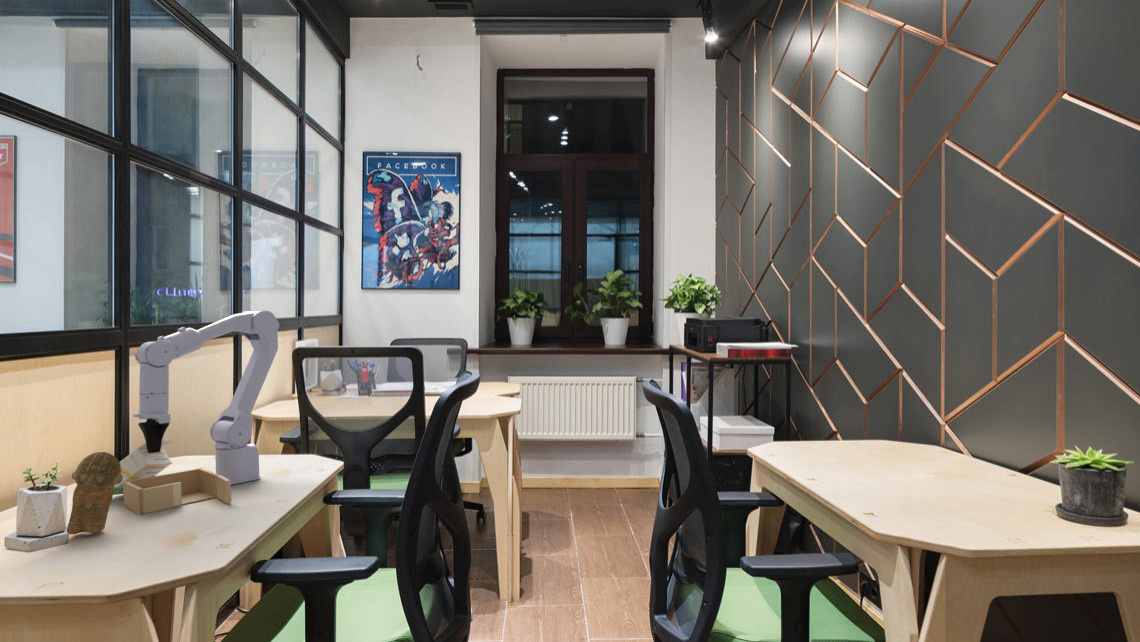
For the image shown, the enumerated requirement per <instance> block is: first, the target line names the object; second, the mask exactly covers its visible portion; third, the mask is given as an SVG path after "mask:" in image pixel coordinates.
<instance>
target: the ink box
mask: <svg viewBox="0 0 1140 642" xmlns="http://www.w3.org/2000/svg"><path fill="white" fill-rule="evenodd" d="M172 442H173V440H172V439H162V445H161V450H160V452H157V453H148V451H147V447H146V442H145V443H143V444H142V445H140V446H139V447H138V448H136V449H135V450H133V451H132V452H131V453H130V454H128V455H127V456H126V457H124V458H123V459H122V460H120V461H119V464H120V467H121V475H122V476H123V479H122V481H121V482H120V483H119V484H115V485H113V496H114V495H115V496H116V495H123V482H126V481H131V480H137V479H142V478H148V477H153V476H158V474H160V473H161V472H162V471H164V470H165V469H166V468H168V467H169V466H171V465H172V464H173V462H172V461H171V459H170V457H169V455H168V454H167V452H166V451H165V449H164V447H166V446H167V445H169V444H170V443H172Z"/></svg>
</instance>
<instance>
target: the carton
mask: <svg viewBox="0 0 1140 642" xmlns="http://www.w3.org/2000/svg"><path fill="white" fill-rule="evenodd" d="M217 475H219V474H216V472H213V471H211V470H207V469H204V468H202V467H199V468H193V469H187V470H183V471H175V472H171V473H165V474H161V475H156V476H153V477H148V478H142V479H137V480H131V481H126V482H123V494H122V495H123V507H125V508H127V509H128V510H130V511H132V512H134V513H136V514H138V515H144V514H145V513H143V490H142V489H146V488H151V487H157V486H162V485H167V484H172V483H178V482H181V491H182V505H181V506H185V505H189V504H190V505H191V504H195V503H198V502H203V501H208V500H212V499H218V498H217V478H216V476H217ZM171 508H173V507H171ZM171 508H170V509H171ZM162 510H164V509H162ZM162 510H161V511H162ZM157 512H159V510H157ZM148 513H150V512H148ZM148 513H147V514H148Z"/></svg>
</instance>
